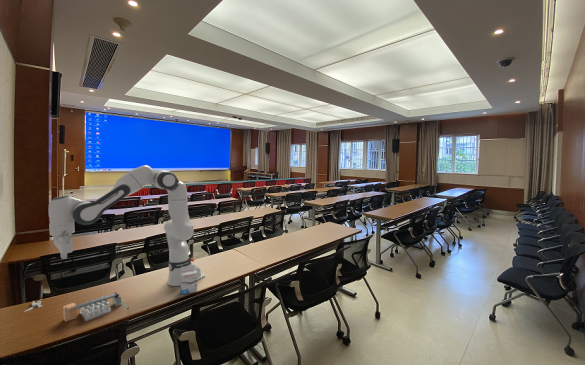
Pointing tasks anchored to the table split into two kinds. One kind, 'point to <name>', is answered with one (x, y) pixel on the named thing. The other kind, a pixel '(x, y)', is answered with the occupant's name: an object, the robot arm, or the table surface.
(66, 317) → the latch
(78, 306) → the strap
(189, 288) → the ink box
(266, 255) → the table surface
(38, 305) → the pliers
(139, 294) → the table surface
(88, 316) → the heatsink
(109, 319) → the table surface
